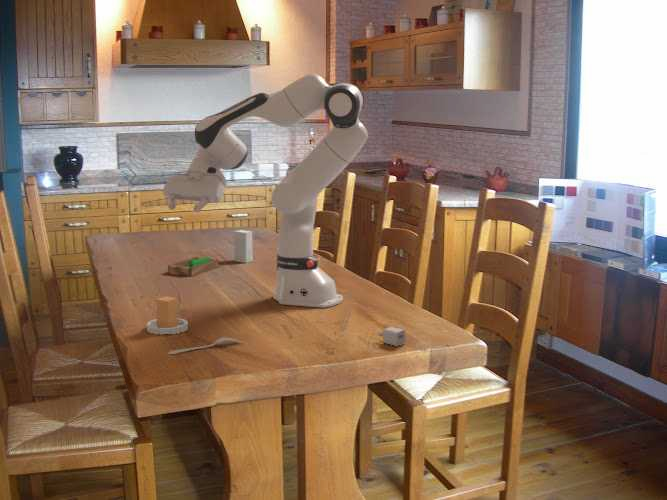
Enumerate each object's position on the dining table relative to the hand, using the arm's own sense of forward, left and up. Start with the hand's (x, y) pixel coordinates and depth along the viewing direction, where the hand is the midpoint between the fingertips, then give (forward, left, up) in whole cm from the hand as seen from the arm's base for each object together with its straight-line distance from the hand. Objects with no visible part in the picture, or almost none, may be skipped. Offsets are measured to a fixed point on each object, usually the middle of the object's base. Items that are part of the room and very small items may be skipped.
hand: (183, 209), depth 237 cm
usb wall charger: (-72, +8, -30) cm, 78 cm away
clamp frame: (+24, -39, -29) cm, 54 cm away
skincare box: (+16, -61, -30) cm, 69 cm away
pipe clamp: (+22, -38, -30) cm, 53 cm away
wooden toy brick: (-12, +25, -29) cm, 40 cm away
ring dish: (-12, +25, -29) cm, 40 cm away
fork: (-31, +34, -30) cm, 55 cm away
